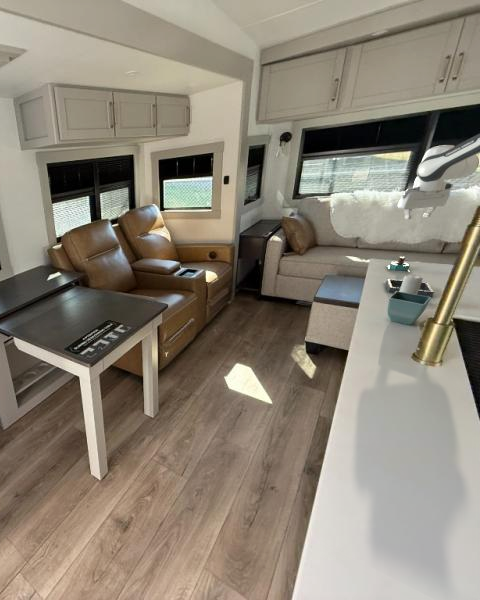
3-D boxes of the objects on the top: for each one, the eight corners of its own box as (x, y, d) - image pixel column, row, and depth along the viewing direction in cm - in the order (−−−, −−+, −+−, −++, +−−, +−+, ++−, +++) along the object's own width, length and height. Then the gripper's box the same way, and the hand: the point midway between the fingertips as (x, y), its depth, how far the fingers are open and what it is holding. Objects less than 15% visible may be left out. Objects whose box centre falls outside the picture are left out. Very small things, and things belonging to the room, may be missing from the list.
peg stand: (407, 269, 154) (411, 256, 151) (409, 273, 149) (414, 260, 146) (387, 267, 158) (391, 254, 155) (388, 271, 153) (392, 258, 150)
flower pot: (381, 320, 112) (388, 297, 108) (388, 313, 116) (396, 290, 112) (415, 329, 105) (424, 304, 101) (422, 320, 109) (431, 297, 106)
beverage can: (391, 304, 122) (401, 275, 117) (402, 303, 122) (412, 273, 118) (404, 309, 118) (415, 279, 113) (416, 307, 118) (427, 277, 113)
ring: (406, 267, 153) (408, 262, 153) (408, 271, 149) (410, 266, 148) (388, 266, 157) (390, 261, 156) (390, 269, 153) (391, 265, 152)
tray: (426, 288, 132) (428, 282, 131) (431, 298, 124) (433, 292, 123) (385, 284, 140) (387, 278, 139) (388, 293, 131) (389, 287, 130)
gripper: (413, 188, 136) (402, 221, 141) (457, 184, 137) (445, 216, 142) (398, 187, 142) (389, 219, 147) (440, 183, 143) (429, 215, 148)
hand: (417, 217), depth 145 cm, fingers open, 8 cm apart
